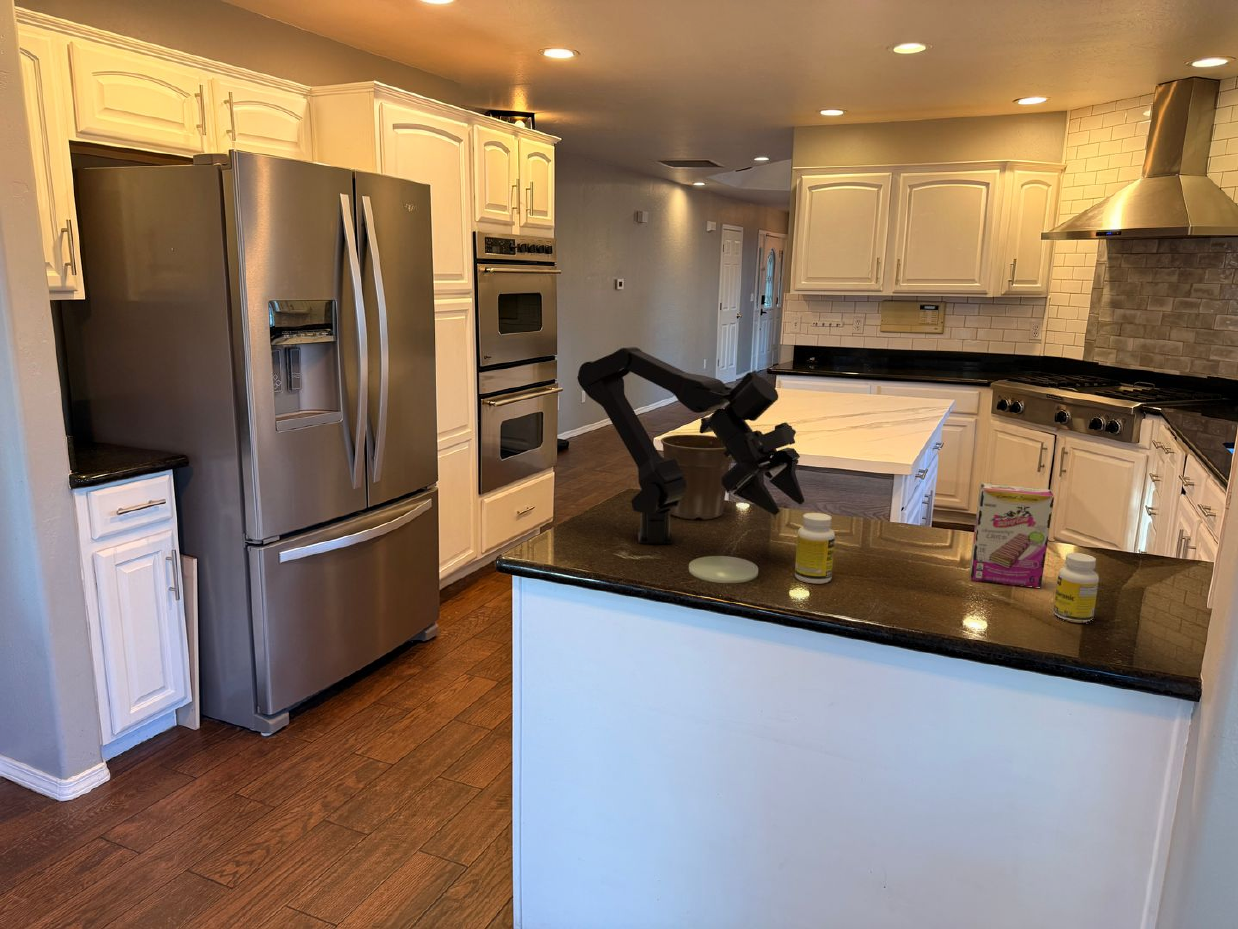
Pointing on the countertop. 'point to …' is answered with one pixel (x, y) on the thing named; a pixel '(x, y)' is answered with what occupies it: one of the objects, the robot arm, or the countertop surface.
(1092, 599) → the supplement bottle
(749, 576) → the disc
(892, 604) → the countertop surface
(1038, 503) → the candy bar box
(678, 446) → the plant pot
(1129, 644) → the countertop surface
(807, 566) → the pill bottle
